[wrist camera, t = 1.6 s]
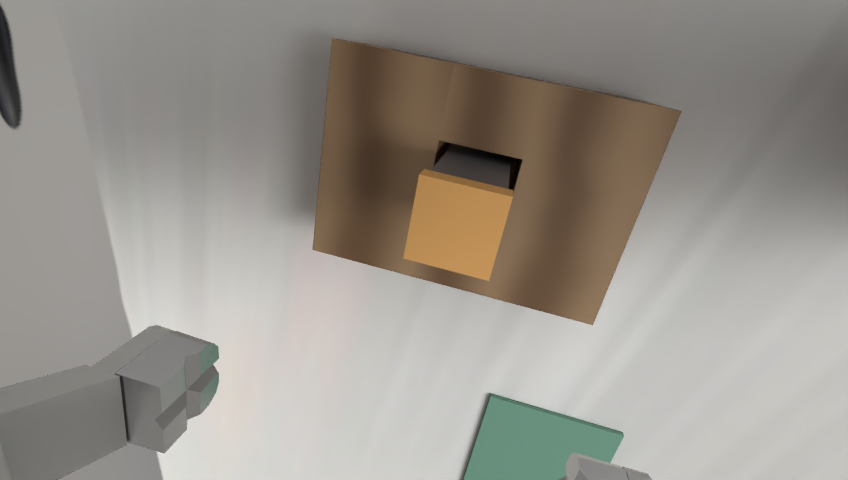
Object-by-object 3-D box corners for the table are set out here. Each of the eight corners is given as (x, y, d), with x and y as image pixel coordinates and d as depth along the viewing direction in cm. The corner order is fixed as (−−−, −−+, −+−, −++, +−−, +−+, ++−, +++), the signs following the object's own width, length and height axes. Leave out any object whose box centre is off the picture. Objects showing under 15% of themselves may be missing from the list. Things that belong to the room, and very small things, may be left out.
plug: (515, 150, 31) (512, 197, 20) (499, 207, 32) (488, 281, 21) (454, 136, 31) (419, 174, 20) (442, 194, 33) (403, 258, 22)
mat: (622, 432, 39) (623, 435, 38) (578, 518, 43) (579, 522, 43) (490, 393, 40) (490, 396, 40) (462, 481, 45) (461, 485, 44)
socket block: (650, 103, 29) (681, 111, 23) (580, 284, 34) (592, 324, 29) (365, 43, 31) (332, 38, 26) (343, 222, 37) (312, 249, 31)
